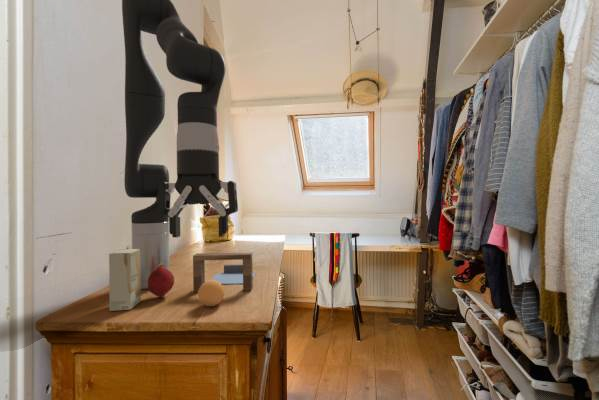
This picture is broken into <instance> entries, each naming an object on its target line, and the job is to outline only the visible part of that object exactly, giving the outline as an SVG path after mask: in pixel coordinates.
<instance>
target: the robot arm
mask: <svg viewBox="0 0 599 400" xmlns="http://www.w3.org/2000/svg"><path fill="white" fill-rule="evenodd" d="M121 12H122V28H123V29H122V30H123V41H124V55H125V56H124V57H125V62H124V63H125V64H124V65H125V68H124V71H125V72H124V76H125V77H124V114H125V133H126V134H125V135H126V137H125V138H126V139H125V141H126V142H125V159H124V160H125V161H124V162H125V163H124V179H123V180H124V191H125V194H126V195H127V197H129V198H135V199H137V198H138V199H140V198H141V199H144V198H146V199H147V198H154V199H155V201H154V202H153V203H152V204H151V205H149V206H146V207H145V208H142V209H139V210H136V211H134V212H132V214H131V217H130V218H131V249H140V277H141V290H142V289H145V290H147V289H148V285H147V281H148V278H149V276H150V274H151V273H152V272H153V271H154V270H155V269H156V268H157V267H158V266H159V265H160V264H164V268H166V269H168V270H169V271H170V235H172V238H179V237H181V216H180V215H181V213H182V211H183V210H184V209H185V208H186V207H187V206H188V205H190V206H191V205H209V204H210V206H212V207H213V208H214V209H215V210H216V212H217V214H219V216H218V220H217V221H218V237H219V238H223V237H225V235H226V234H227V233H228V232H229V216H230V215H231V214H234V213H237V212H238V211H239V205H238V192H237V189H238V188H237V183H236V182H235V181H234V180H229V181H224V182H223V181H221V180H220V155H219V154H220V153H219V152H220V145H219V143H220V142H219V133H218V116H217V113H218V108H217V107H218V103H219V97H220V92H221V91H222V90H221V89H222V86H223V83H224V79H225V76H226V71H227V70H226V62H225V59H224V57H223V55H222V54H221V52H219V51H218V50H217V49H215V48H213V47H210V46H206V45H204V44H202V43H200V42H199V40H198V38H197V37H196V36H195V34H194V33H193V32H192V31H191V30H190V29H189V28H188V27H187V26H186V25H185V24H184V23H183V20H182V19H181V17H180V14H179V12H178V10H177V9H176V7H175V4H174V3H173V2H172V1H171V0H121ZM142 32H143V33H147V34H151V35H155V37H156V41H157V43H158V44H157V45H159V48H160V49H161V51H162V52H163V53H164V54H165V56H166V59H165V61H166V62H165V63H166V68H167V70H168V72H169V73H170V74H171V75H172V76H173V77H175V78H176V79H179V80H182V81H185V82H189V83H193V84H197V85H200V87H201V90H200V91H187V92H183V93H181V94H180V95H179V96H178V98H177V131H176V176H177V177H176V181H175V182H170V172H169V169H168V167H167V165H163V164H151V163H150V164H149V163H139V160H140V157H141V155H142V152H143V150H144V148H145V146H146V144H147V143H148V141H149V140H150V138H151V137H152V136H153V135H154V133H155V132H156V131H157V129H158V128H159V126H160V125H161V124H162V122H163V120H164V118H165V112H166V91H165V87H164V85H163V83H162V80H161V79H160V77H159V76H158V73H157V71H156V70H155V68H154V66H153V65H152V63H151V62H150V60H149V58H148V55H147V53H146V49H145V47H144V43H143V39H142ZM222 189H223V190H224V192H225V193H226V194H227V198H228V207H226V206H225V205H224V204H223V202H222V200H221V199H220V198H219V196H218V194H219V193H220V191H221V190H222ZM174 190H176V192H177V193H178V194H179V196H178V197H177V199H176V200H175V201H174V203H173V205H172V206H171V197H172V195H173V193H174ZM171 194H172V195H171Z"/></svg>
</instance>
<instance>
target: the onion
mask: <svg viewBox="0 0 599 400" xmlns="http://www.w3.org/2000/svg"><path fill="white" fill-rule="evenodd" d="M147 285H148V288H147V289H148V291H149V292H150V293H151V294H152V295H154V296H156V297H158V298H164V297H165V295H166V294H168V293H169V292H170V290H172V288H173V287H174V285H175V277H174V274H173V273H172V272H171V271H170V269H169V270H168V269H166V268H164V264H160V265H159V266H158V267H157V268H156V269H155V270H154V271H153V272H152V273H151V274H150V276H149V278H148V281H147Z"/></svg>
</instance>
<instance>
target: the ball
mask: <svg viewBox="0 0 599 400" xmlns="http://www.w3.org/2000/svg"><path fill="white" fill-rule="evenodd" d="M224 295H225V289H224V286H223V284H221V283H220V282H218V281H215V280H211V279H209V280H205V282H204V283H203V284H202V285H201V286H200V288H199V291H198V292H197V298H198V300H199V302H200V303H201V304H202V305H204V306H206V307H214V306H217V305H218V304H219V303H220V302H221V301H222V300H223V299H224Z"/></svg>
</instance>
